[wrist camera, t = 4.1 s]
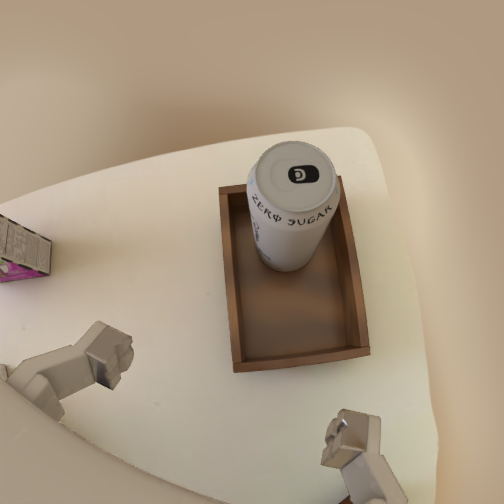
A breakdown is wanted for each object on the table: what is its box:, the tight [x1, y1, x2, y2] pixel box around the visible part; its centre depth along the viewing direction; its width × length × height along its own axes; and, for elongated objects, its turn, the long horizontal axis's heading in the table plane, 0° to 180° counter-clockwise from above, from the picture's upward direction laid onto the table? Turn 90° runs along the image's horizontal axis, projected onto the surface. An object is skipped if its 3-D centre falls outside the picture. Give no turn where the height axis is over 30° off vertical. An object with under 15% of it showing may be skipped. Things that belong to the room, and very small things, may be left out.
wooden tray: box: [219, 176, 370, 373], centre depth 30 cm, size 17×12×6 cm
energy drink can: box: [247, 141, 340, 272], centre depth 26 cm, size 6×6×15 cm
